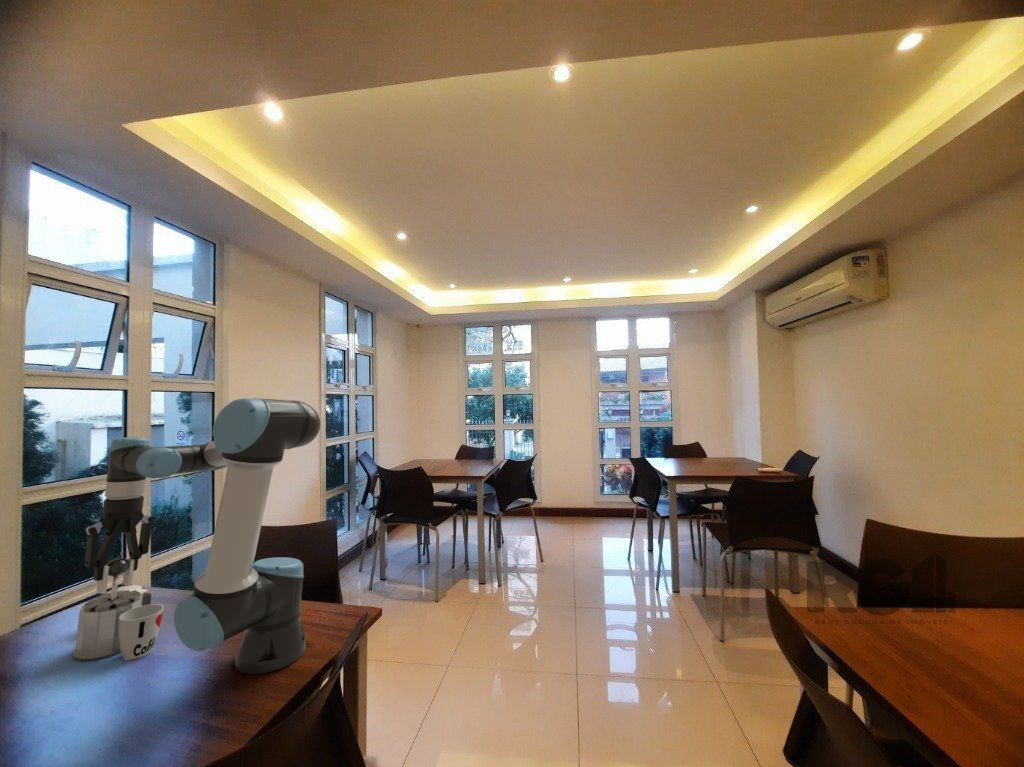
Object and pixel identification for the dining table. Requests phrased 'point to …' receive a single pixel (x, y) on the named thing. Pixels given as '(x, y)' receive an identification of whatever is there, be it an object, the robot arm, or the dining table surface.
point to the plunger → (116, 573)
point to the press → (104, 624)
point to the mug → (131, 589)
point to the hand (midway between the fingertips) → (114, 588)
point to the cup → (139, 630)
